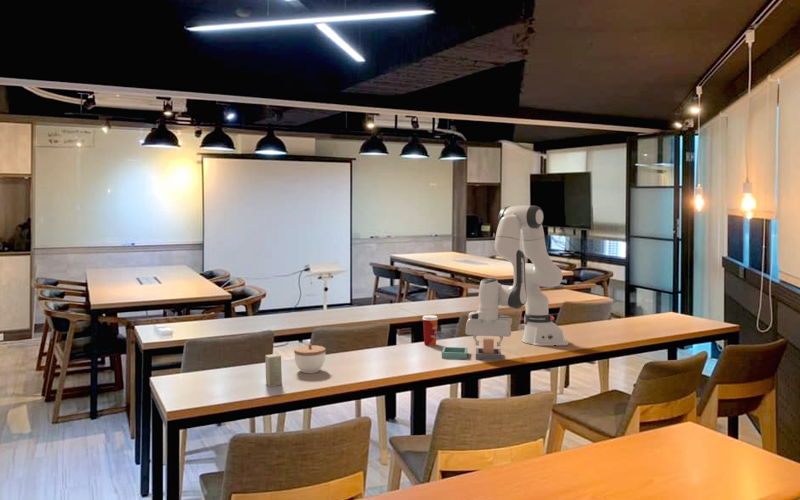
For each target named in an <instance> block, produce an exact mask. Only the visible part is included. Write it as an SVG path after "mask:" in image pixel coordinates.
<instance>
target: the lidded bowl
mask: <svg viewBox="0 0 800 500" xmlns="http://www.w3.org/2000/svg"><path fill="white" fill-rule="evenodd" d="M293 351H294V361H295V364H296V366H297V368H298V370H300V371H301V373H303V374H313V373H314V374H315V373H318V372H320V370H321V369H322V367H323V366H324V364H325V361H326V351H327V350H326V347H324V346H322V345H314V344H313V345H312V343H308V345H301V346H298V347H295V348H294V350H293Z"/></svg>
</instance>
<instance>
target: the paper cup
mask: <svg viewBox="0 0 800 500" xmlns="http://www.w3.org/2000/svg"><path fill="white" fill-rule="evenodd" d="M438 320H439V318H438V316H437V315H433V314H430V315H429V314H428V315H423V316H422V326H423V341H424V346H428V347H429V346H430V347H435V346H436V345H437V332H438Z"/></svg>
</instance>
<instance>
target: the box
mask: <svg viewBox="0 0 800 500" xmlns="http://www.w3.org/2000/svg"><path fill="white" fill-rule="evenodd" d="M264 363H265V384H266V385H267V386H268V387H276V386H280V385H282V384H283V377H282V376H283V375H282V373H283V372H282V355H280V354H279V353H273V354H265V361H264Z"/></svg>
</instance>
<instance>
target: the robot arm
mask: <svg viewBox="0 0 800 500" xmlns="http://www.w3.org/2000/svg"><path fill="white" fill-rule="evenodd" d="M544 217H545V215H544V211H543V210H542V209H541V207H540V206H537V205H533V204H532V205H527V204H526V205H524V204H523V205H522V204H521V205H513V206H509V205H508V206H504V207H502V208H501V209H500V211H499V213H498V216H497V218H498V219H497V220H498V225H497V229H496V233H495V239H494V240H495V241H494V250H495V252H496V254H497V255H498V256H499V257H501V258H502V259H504V260H506V261H508V262H509V263H510V264H511V265H512V267H513V284H512V285H506V284H502V283H500V282H499V281H498V279H497V278H494V277H488V278H487V277H486V278H483V279H481V281H480V283H479V288H478V301H479V304H478V310H477V309H476V310H473V311H471V312H469V313H468V319H467V321H466V325H465V334H466V335H467V336H473V337H472V338H473V340H474V341H475V346H479V345H480V340H477V336H479V337H480V336H484V337H499V341H496V346H497V347H501V342H503V339H504V337H509V338H510V337H511V336H512V327H511V326H512V324H513V319H512V317H511V316H509V315H502V314H499V309H500V307H506V308H507V307H509V308H510V309H515V310H516V309H517V310H519V309H521V308H522V307H524V306H525V313H524V317H523V318H524V321H523V322H524V330H523V336H522V339H521V341H522V342H523V343H525V344H531V345H534V346H539V347H540V346H544V347H545V346H546V347H547V346H549V347H550V346H551V347H553V346H554V345H556V346H568V345H569V343H570V342H569V340H568V339H566V338H565V334H564V331H563V329H562V328H560V327H559V326H558V325H557V324H556V323H554V322H553V321H554V320H555V317H554V316H553V315H552V314H550V313H549V298H548V296H547V295H545V294H544V293H543V292H542V290H541V287H544V288H553V287H557V286H559V285H560V284H561V283H562V281H563V275H564V274H563V271H562V270H561V268H560V267H559V266H557V265H556V264H555V263H554V262H553V261H552V259H551V257H550V255H549V253H548V251H547V250H548V249H547V244H546V238H545V232H544V227H543V222H544V219H545V218H544ZM520 241H521V245H520ZM520 246H522V250H521V248H520ZM525 257H526V258H527V259H529V261H530V262H531V263H526V259H525ZM499 306H500V307H499Z"/></svg>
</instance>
